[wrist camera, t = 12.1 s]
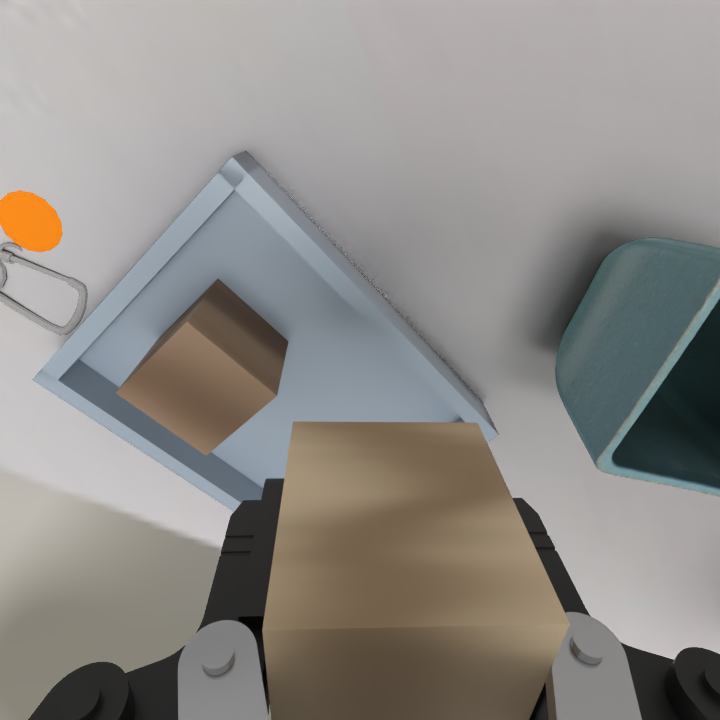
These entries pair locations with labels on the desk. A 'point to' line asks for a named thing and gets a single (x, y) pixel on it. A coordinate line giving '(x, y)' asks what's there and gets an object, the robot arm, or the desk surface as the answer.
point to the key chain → (34, 248)
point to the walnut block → (209, 370)
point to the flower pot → (648, 364)
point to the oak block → (404, 580)
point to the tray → (282, 311)
